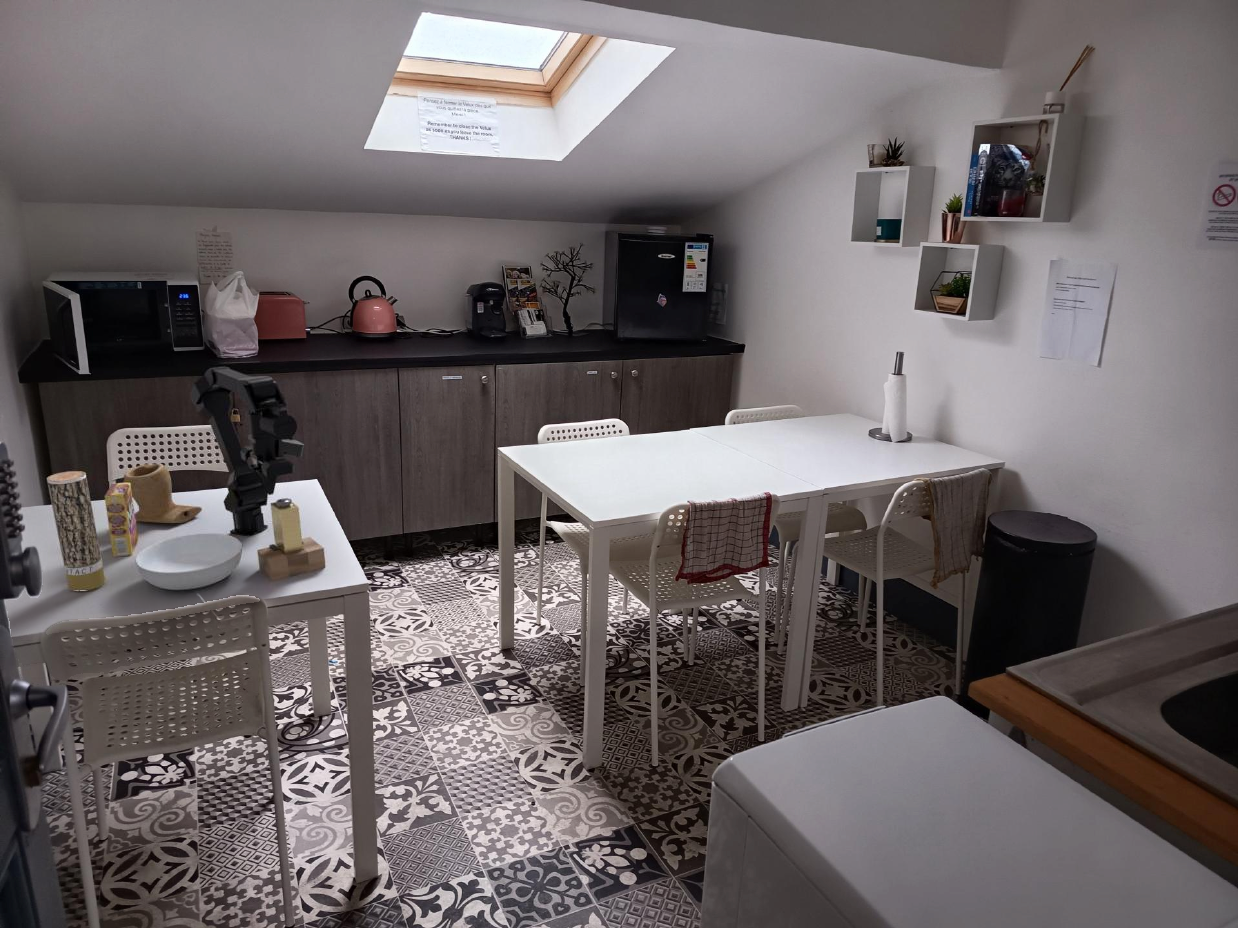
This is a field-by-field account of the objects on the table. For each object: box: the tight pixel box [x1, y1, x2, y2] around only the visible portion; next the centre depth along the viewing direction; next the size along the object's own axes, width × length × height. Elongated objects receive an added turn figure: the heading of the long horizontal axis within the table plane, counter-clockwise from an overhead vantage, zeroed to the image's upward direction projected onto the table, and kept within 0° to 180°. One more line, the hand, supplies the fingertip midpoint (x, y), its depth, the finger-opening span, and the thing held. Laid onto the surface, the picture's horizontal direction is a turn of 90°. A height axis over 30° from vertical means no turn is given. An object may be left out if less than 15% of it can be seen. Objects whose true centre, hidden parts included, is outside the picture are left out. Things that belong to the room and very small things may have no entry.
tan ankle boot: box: [123, 462, 203, 524], centre depth 214 cm, size 15×12×15 cm
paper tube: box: [46, 470, 106, 591], centre depth 177 cm, size 7×7×25 cm
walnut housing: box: [257, 536, 327, 582], centre depth 190 cm, size 8×12×6 cm, turn 131°
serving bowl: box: [135, 532, 243, 591], centre depth 184 cm, size 21×21×7 cm
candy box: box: [104, 482, 139, 557], centre depth 197 cm, size 9×4×15 cm, turn 20°
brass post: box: [270, 497, 303, 555], centre depth 189 cm, size 6×4×16 cm, turn 41°
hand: (270, 494), depth 200 cm, fingers closed
